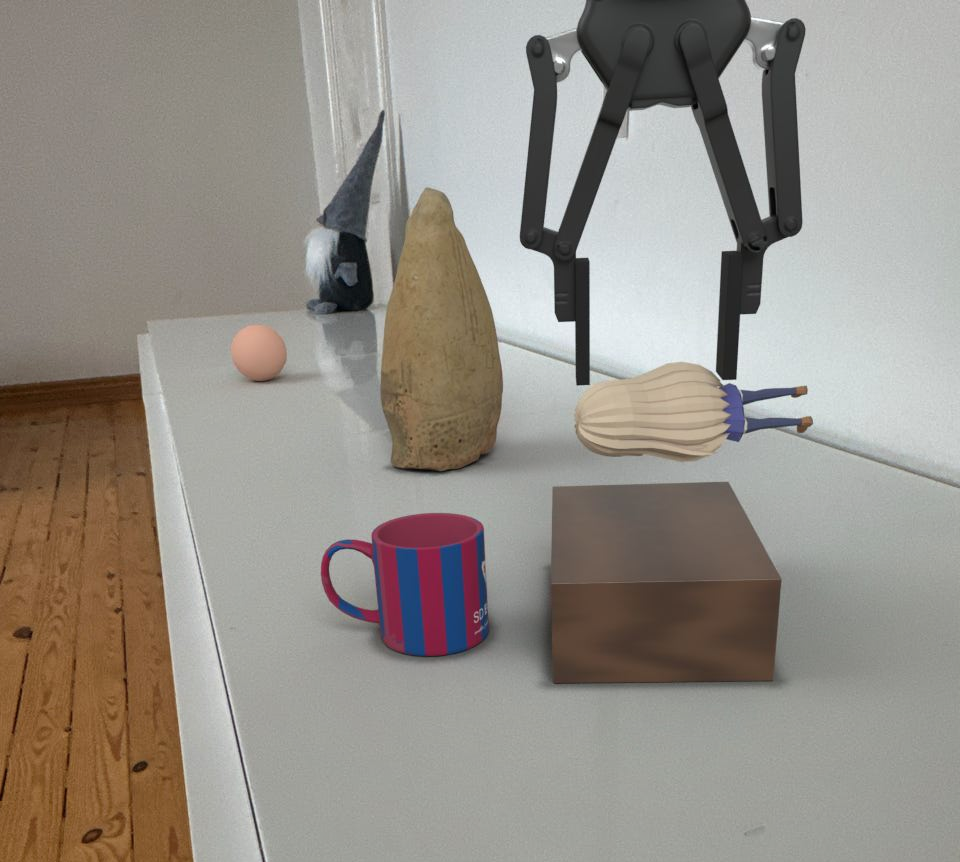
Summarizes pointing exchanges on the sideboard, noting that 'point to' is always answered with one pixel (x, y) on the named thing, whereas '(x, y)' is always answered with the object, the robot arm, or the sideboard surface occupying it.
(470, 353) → the sculpture
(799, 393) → the figurine
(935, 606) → the sideboard surface
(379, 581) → the mug
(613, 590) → the walnut block
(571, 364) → the sideboard surface
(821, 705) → the sideboard surface
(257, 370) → the toy ball
